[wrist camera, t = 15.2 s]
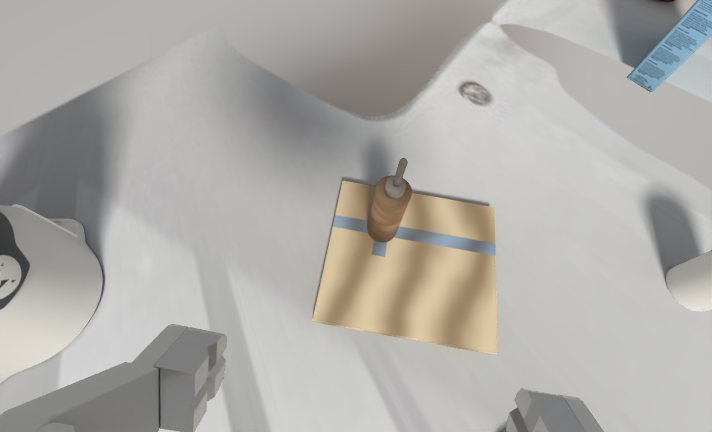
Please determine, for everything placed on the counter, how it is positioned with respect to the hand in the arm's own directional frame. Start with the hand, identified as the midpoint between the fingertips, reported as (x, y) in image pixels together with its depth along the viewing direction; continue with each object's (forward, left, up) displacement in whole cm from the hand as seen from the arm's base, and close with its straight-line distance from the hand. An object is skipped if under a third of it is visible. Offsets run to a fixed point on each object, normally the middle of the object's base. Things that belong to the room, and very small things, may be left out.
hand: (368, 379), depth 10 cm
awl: (+2, +18, -28) cm, 34 cm away
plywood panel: (+6, +15, -29) cm, 34 cm away
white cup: (+41, +18, -30) cm, 54 cm away
